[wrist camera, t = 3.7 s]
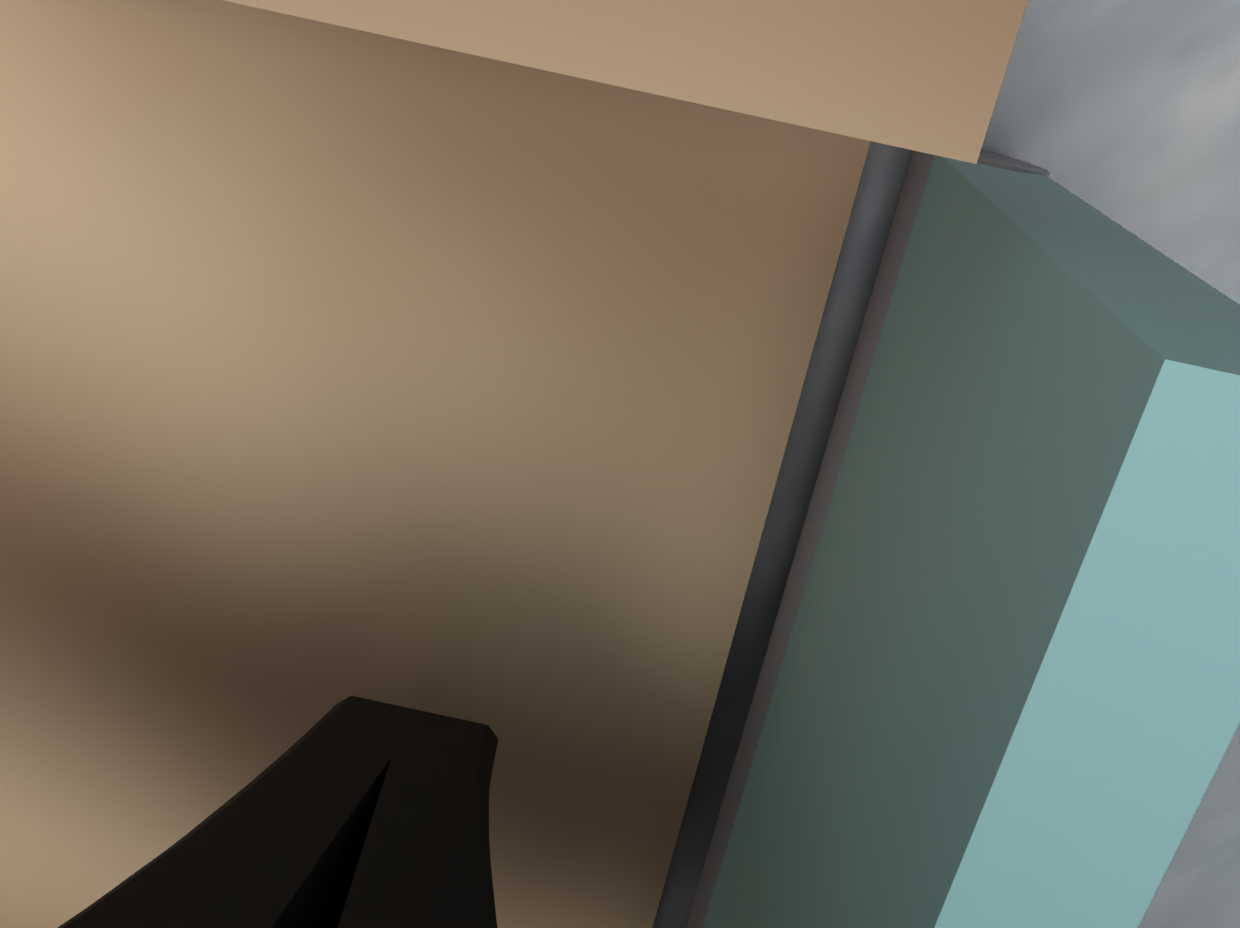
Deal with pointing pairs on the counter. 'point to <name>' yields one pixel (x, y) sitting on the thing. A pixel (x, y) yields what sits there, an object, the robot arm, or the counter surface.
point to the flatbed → (414, 391)
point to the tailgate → (999, 584)
